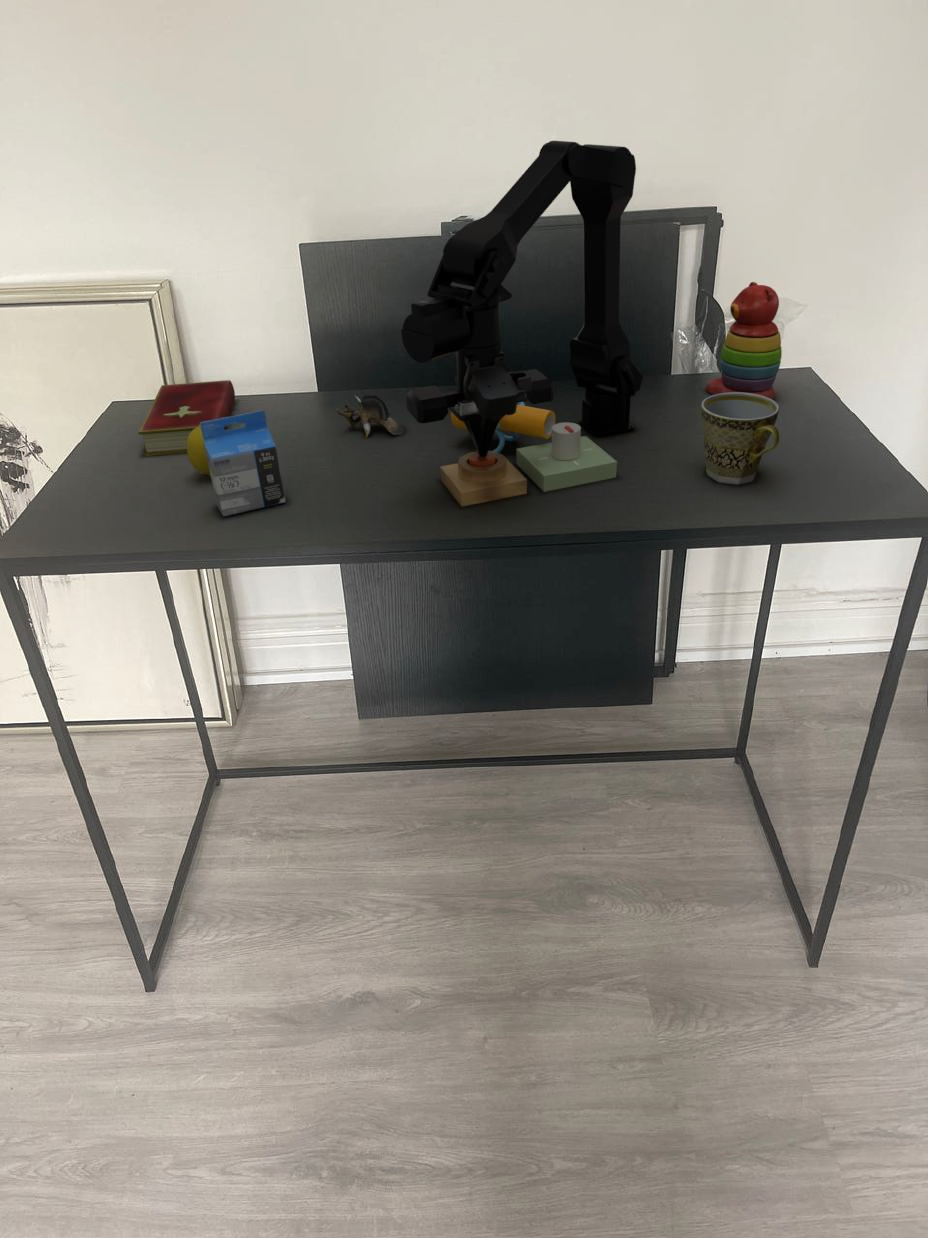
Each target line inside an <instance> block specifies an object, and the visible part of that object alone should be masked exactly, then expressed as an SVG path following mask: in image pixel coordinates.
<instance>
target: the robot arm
mask: <svg viewBox="0 0 928 1238" xmlns="http://www.w3.org/2000/svg"><path fill="white" fill-rule="evenodd" d="M636 165H637V163H636V157H635V155H634V154H632V152H631V150H630V149H629V148H628V147H626V146H620V145H619V146H618V145H605V144H589V143H587V144H586V143H585V144H579V142H577V141H567V140H550V141H548V142H545V143H544V144H543V145H542V147H541V148H540V150H539V154H538V156H537V157H536V158H535V159H534V160H533V161H532V163H531V164H530V165H529V166H528V168H527V169H526V170H525V171H524V172H523V173H522V174H521V175H520V177H519V178H518V179H517V180H516V182H515V183H514V184H513V185H512V186H511V188H510V189H508V191H506V193H505V194H504V195H503V197H502V198H501V199H500V200H499V202H497V204H496V205H495V206H494V207H493V208H492V209H491V210H490V211H489V212H488V213H487V214H486V215H484V216H483V217H481V218H478V219H475V220H474V221H471V222H469V223H467V224H465V225H464V226H463V227H462V228H461V229H459V230H458V231H457V232H456V233H454V234H453V235H452V236H451V237H450V238H449V239H448V240H447V242H446V243H445V245H444V246H443V247H444V248H443V251H442V253H443V254H442V256H441V259H440V261H439V264H438V266H437V269H436V270H435V273H434V276H433V279H432V280H431V283H430V286H429V288H428V290H427V297H429V298H430V299H426V300H419V301H415V302H412V303H411V305H410V311H411V314H409V315H407V316H406V318H405V319H404V321H403V323H402V329H401V330H400V334H401V335H400V336H401V340H402V341H401V342H402V344H403V347H404V349H405V351H406V352H407V354H408V355H409V357H410V358H411V359H412V360H414V361H415V362H416V363H419V364H425V363H428V362H430V361H433V360H436V359H438V358H441V357H445V356H447V355H450V354H452V353H453V354H454V356H455V358H456V376H455V377H454V385H455V386H456V387H457V390H453V391H449V392H442V391H441V390H440V389H439V388H438V387H437V386H436V384H435V385H428V386H423V387H417V388H411V389H409V390H408V392H407V394H406V397H405V400H406V410H407V411H408V412H409V414H410V415H411V416H412V417H413V418H414V420H415V421H416V422H417V423H418V424H429V423H435V422H440V421H443V420H444V419H445V418H446V417H447V416H448V415H449V411H450V413H451V412H452V413H453V414H454V415H455V416H456V417H457V418H458V419H459V420H460V421H463V422H464V424H465V425H466V428H467V430H466V431H467V432H468V434H469V436H470V439H471V441H472V443H473V446H474V448H475V450H476V452H477V453H478V455H479V456H480V457H486V456H487V453H488V451H490V446H491V444H492V441H493V438H494V435H495V434H494V432H495V430H496V428H497V425H498V423H499V421H500V420H501V419H502V418H503V417H504V416H505V415H512V414H514V413H516V409H517V403H519V402H524V403H525V402H528V401H529V402H530V403H531V404H532V405H537V404H543V403H549V402H552V401H553V400H554V385H553V382H552V380H550V378H548V377H547V376H545V375H544V374H543V373H542V372H540V371H539V370H538V369H536V368H532V369H525V370H519V371H513V370H512V371H509V370H508V368H507V365H506V358H505V353H504V352H503V351H502V346H501V345H502V342H501V340H502V339H501V305H500V303H501V302H504V301H508V300H511V298H512V297H513V294H512V292H511V291H509V290H508V289H507V288H505V286H504V285H503V284H502V283H503V282H504V281H505V278H506V277H507V275H508V274H509V272H510V271H511V269H512V267H513V266H514V264H515V263H516V262H517V261H516V260H517V253H518V247H519V246H518V245H519V244H520V242H521V241H522V240H523V238H524V237H525V235H527V234H528V232H529V231H530V230H531V229H532V227H533V226H534V225H535V223H536V222H537V221H538V220H539V219H540V218H541V216H542V215H543V214H544V213H545V212H546V211H547V210H548V208H549V207H550V206H551V205H552V203H554V201H555V200H557V198H558V196H559V195H560V194H561V192H563V190H564V189H565V188H566V187H567V186H568V184H569V185H570V192H571V198H572V201H573V203H574V205H575V206H576V208H577V210H578V213H579V214H580V216H581V218H582V221H583V222H582V223H583V326H582V328H581V329H580V331H579V333H578V334H577V336H576V337H574V338H572V339H570V342H569V350H570V358H569V359H570V360H569V364H568V365H569V366H570V367H571V369H572V373H573V375H574V377H575V382H576V386H577V387H578V388H585V389H584V390H585V393H584V395H585V396H584V398H582V401H581V402H582V404H581V419H579V425H581V426H583V427H584V428H585V429H587V431H589V432H590V433H591V434H593V435H594V436H595V437H604V436H609V435H615V434H620V433H625V432H626V433H627V432H630V431H634V430H635V426H634V425H633V424H632V423H630V417H631V415H630V414H631V399H632V397H634V396H636V393H637V392H639V391H640V389H641V386H642V382H643V379H644V375H642V373H641V372H640V370H638V368H637V367H636V366H635V365H634V363H633V361H632V358H631V347H630V346H631V345H630V342H629V339H628V337H627V335H626V334H625V331H624V329H623V328H622V325H621V324H620V277H621V276H620V275H621V220H622V216H623V214H624V212H625V210H626V208H627V207H628V205H629V203H630V201H631V199H632V198H633V195H634V188H635V180H636V174H637V173H636V172H637V166H636ZM452 283H453V284H457V285H461V286H467V287H471V288H473V289H470V288H465V287H461V286H455V285H452ZM477 408H478V409H477Z"/></svg>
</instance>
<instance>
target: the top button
mask: <svg viewBox="0 0 928 1238" xmlns="http://www.w3.org/2000/svg"><path fill="white" fill-rule="evenodd" d="M489 451H490V450H488V453H487V456H486V457H480V456H479V455H478V453H477V451H473V452H474V453H472V452H471V453H472V454H470V455H469V465H470V466H474V467H488V466H492V465H494V464H495V454H494V453H492V452H489Z"/></svg>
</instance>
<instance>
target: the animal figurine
mask: <svg viewBox="0 0 928 1238" xmlns="http://www.w3.org/2000/svg"><path fill="white" fill-rule="evenodd" d="M354 398H355V399H356V401H357V402H358V405H359V408H357V409H355V410H353V406H352V405H350V404H349V403H346V404H344V405H343V407H342V408H343V411H342V410H340V409H338V408H335V410H336V413H337V414H338V415H339V416H342V417H344V418H346V420H347V421H348V422H349V424H350V428H351V429H354V428H355V427H356V425H357V424H358V423H361V424H362V426H363V430H364V433H365V438H368V437H369V436H370V435H369V434H370V433H371V424H372V423H373V424H374V423H376V424H378V425H380V426H381V427H384V428H385V430H387V431H388V432H389V433H390V434H391V435H393V436H399V435H403V434H404V429H403V426H401V424H400V423H398V421H396V420H395V419H393V417H391V413H390V411H389V407H388V405H387V404H386V402H385V401H384V400H383V399H382V398H381V397H380V396H378V395H372V394H368V395H367V394H365V395H363V397H362V398H361V399H360V398H359V397H358V396H356V395H354ZM354 416H358V417H356V418H355V419H354Z"/></svg>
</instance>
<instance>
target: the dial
mask: <svg viewBox="0 0 928 1238" xmlns="http://www.w3.org/2000/svg"><path fill="white" fill-rule="evenodd" d="M581 433H582V427H581V426H580V424H577V423H575V422H569V421H567V422H558V423H555V425H554V426H552V435H551V442H552V457H554V458H555V459H559V460H573V459H576V458H578V457H579V456H580V438H581V437H582V436H581Z"/></svg>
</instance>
